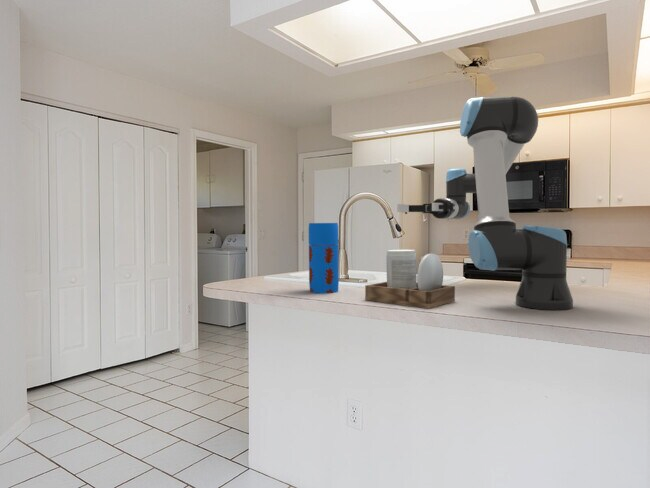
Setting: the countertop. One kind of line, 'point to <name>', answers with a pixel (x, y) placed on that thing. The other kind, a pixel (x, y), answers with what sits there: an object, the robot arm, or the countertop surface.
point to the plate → (430, 273)
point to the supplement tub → (401, 269)
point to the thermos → (323, 257)
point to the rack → (410, 295)
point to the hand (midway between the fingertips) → (414, 207)
